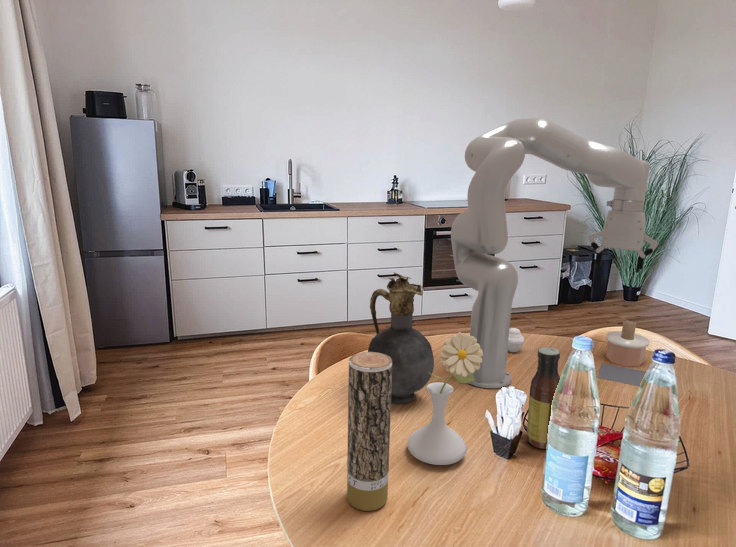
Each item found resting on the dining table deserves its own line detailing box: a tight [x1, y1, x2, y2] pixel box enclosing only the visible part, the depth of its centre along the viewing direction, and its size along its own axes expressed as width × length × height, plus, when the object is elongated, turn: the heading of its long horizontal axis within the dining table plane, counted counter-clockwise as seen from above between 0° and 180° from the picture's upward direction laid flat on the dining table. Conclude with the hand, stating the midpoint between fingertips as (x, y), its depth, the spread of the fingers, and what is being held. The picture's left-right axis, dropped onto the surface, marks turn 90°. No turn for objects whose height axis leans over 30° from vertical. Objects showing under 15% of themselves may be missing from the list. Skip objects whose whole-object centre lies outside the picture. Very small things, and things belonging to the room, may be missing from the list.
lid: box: [605, 320, 650, 349], centre depth 147 cm, size 11×11×6 cm
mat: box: [597, 362, 647, 387], centre depth 139 cm, size 11×11×1 cm
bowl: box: [605, 341, 647, 367], centre depth 148 cm, size 9×9×6 cm
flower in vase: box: [406, 331, 483, 466], centre depth 99 cm, size 13×11×25 cm
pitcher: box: [367, 271, 435, 405], centre depth 123 cm, size 11×19×30 cm, turn 37°
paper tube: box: [346, 351, 392, 512], centre depth 85 cm, size 7×7×25 cm
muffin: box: [507, 327, 525, 353], centre depth 154 cm, size 6×6×7 cm
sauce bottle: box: [526, 346, 561, 450], centre depth 104 cm, size 6×6×20 cm
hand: (618, 269), depth 145 cm, fingers open, 9 cm apart
